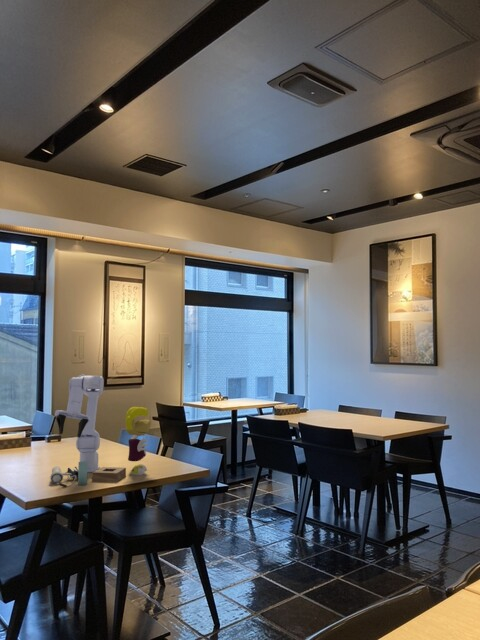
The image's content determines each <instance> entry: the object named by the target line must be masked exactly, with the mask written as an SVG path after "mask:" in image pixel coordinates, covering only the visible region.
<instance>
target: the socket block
mask: <svg viewBox="0 0 480 640" xmlns="http://www.w3.org/2000/svg"><path fill="white" fill-rule="evenodd" d="M91 473H92V475H91V482H119V481H120V480H121V479H123V478H124V477H126V476H127V474H126V473H127V467H120V466H119V467H116V466H113V467H111V466H110V467H109V466H102V467H100V468H99V469H97V470H95V471H93V472H91Z"/></svg>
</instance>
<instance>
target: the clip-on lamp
mask: <svg viewBox="0 0 480 640" xmlns="http://www.w3.org/2000/svg"><path fill="white" fill-rule="evenodd" d="M64 476H67V478H66V479H64ZM69 476H70V477H69ZM49 479H50V480H49V481H51V483H53V484H55V483H56V484H57V485H58V486H60V487H63V488H68V487H70V486H71V485H73V483H74V482H76V481H78V467H77V466H74V468H71V467H68V468H67V471H66V472H62V469H61V467H60V466H54V467H52V469H51V474H50V476H49ZM63 479H64V480H63ZM69 479H72V482H71V483H70V484H69V485H67V484H65V483H62V481H63V482H67V481H68V480H69ZM56 484H55V485H56Z"/></svg>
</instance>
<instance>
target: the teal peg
mask: <svg viewBox="0 0 480 640" xmlns="http://www.w3.org/2000/svg"><path fill="white" fill-rule="evenodd" d="M87 467H88V462H87V461H81V462H80V461H79V462H78V467H77V469H78V480H77V485H78V486H86V485H88V472H87Z"/></svg>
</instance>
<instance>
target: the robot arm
mask: <svg viewBox="0 0 480 640" xmlns="http://www.w3.org/2000/svg"><path fill="white" fill-rule="evenodd" d="M104 382H105V380H104V377H103V376H102V375H86V374H80V375H78V376H77V377H75V376H73V377H72V378H70V379H69V381H68V400H67V401H68V402H67V407H66V410H60V409H56V410H55V412H54V416H55V417H56V418H55V421H56V422H57V427H58V433H59V435H62V434H63V433H64V425H65V422H66V419H67V418H69V419H74V420H79V422H78V429H77V430H78V431H77V437H76V438H77V439H76V442H75V446H76V450H77V451H78V452H79V462H81V461H87V462H88V467H87V473H92V472H94V471H96V470H98V469H100V468H101V467H100V466H99V452H98V450H99V448H100V445H101V439H100V438H101V436H100V433H99V432H98V431H97V430H96V422H97V421H96V420H97V412H98V402H99V398H100V396H101V395H103V392H104ZM84 395H85V396H86V397H87V405H86V411H85V413H86V414H83V413H82V412H81V411H82V407H83V398H84Z"/></svg>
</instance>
